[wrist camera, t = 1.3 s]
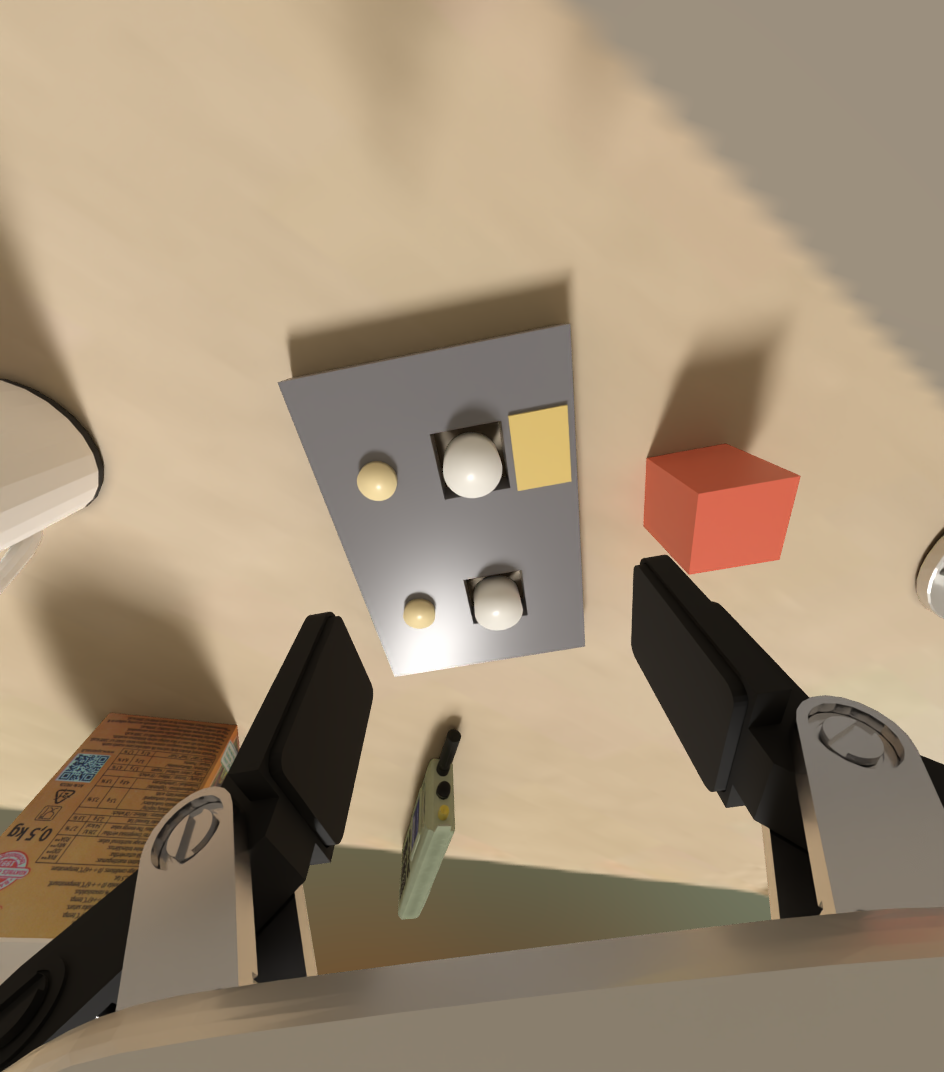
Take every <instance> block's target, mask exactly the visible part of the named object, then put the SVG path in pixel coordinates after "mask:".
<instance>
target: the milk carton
mask: <svg viewBox="0 0 944 1072" xmlns="http://www.w3.org/2000/svg"><path fill="white" fill-rule="evenodd" d="M239 750H240V749H239V739H238V729H237V725H229V724H219V723H209V722H199V721H188V720H178V719H168V718H157V717H147V716H137V715H127V714H116V713H109V714H108V716H107V717H106V718H105V719H104V720H103V721H102V722H101V723H100V725H99V726H98V727H97V728H96V729H95V730H94V731H93V732H92V734H91V735H90V736H89V737H88V738H87V739H86V740H85V741H84V743H83V744H82V745H81V746H80V747H79V748H78V749H77V750H76V752H75V753H74V754H73V755H72V756H71V757H70V758H69V760H68V761H67V762H66V763H65V764H64V765H63V766H62V767H61V769H60V770H59V771H58V772H57V773H56V774H55V775H54V776H53V778H52V779H51V780H50V781H49V782H48V783H47V784H46V785H45V787H44V788H43V789H42V790H41V791H40V792H39V793H38V794H37V796H36V797H35V798H34V799H33V800H32V801H31V802H30V803H29V805H28V806H27V807H26V808H25V809H24V810H23V811H22V813H21V814H20V815H19V816H18V817H17V818H16V819H15V821H14V822H13V823H12V824H11V825H10V826H9V827H8V828H7V829H6V831H5V832H4V833H3V834H2V835H1V836H0V985H1V984H2V983H3V982H4V981H5V980H6V979H7V978H9V977H10V976H11V975H12V974H13V973H14V972H15V971H16V970H17V969H18V968H19V967H20V966H21V965H23V964H24V963H25V962H26V961H27V960H29V959H30V958H31V957H32V956H33V955H35V954H36V953H37V952H38V951H40V950H41V949H42V948H43V947H44V946H46V945H47V944H48V943H49V942H50V941H52V940H53V939H54V938H55V937H56V936H58V935H59V934H60V933H61V932H63V931H64V930H65V929H66V928H67V927H69V926H70V925H71V924H72V923H73V922H75V921H76V920H77V919H78V918H79V917H81V916H82V915H83V914H84V913H85V912H87V911H88V910H89V909H90V908H92V907H93V906H94V905H95V904H96V903H98V902H99V901H100V900H101V899H102V898H104V897H105V896H106V895H107V894H108V893H110V892H111V891H112V890H113V889H115V888H116V887H117V886H118V885H119V884H121V883H122V882H123V881H124V880H125V879H127V878H128V877H129V876H130V875H131V874H133V873H134V872H135V871H136V870H138V869H139V863H140V858H141V855H142V852H143V848H144V845H145V843H146V842H147V840H148V838H149V836H150V834H151V833H152V831H153V829H154V828H155V827H156V826H157V824H158V823H159V822H160V821H161V819H162V818H163V817H164V816H165V815H166V814H167V813H168V812H169V811H170V810H171V809H172V808H173V807H174V806H175V805H176V804H178V803H179V802H180V801H182V800H183V799H185V798H186V797H188V796H189V795H191V794H193V793H195V792H197V791H199V790H201V789H204V788H209V787H214V786H216V787H221V785H222V783H223V781H224V779H225V777H226V775H227V773H228V771H229V769H230V767H231V766H232V764H233V762H234V760H235V758H236V756H237V754H238V752H239Z"/></svg>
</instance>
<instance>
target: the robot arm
mask: <svg viewBox="0 0 944 1072" xmlns="http://www.w3.org/2000/svg"><path fill="white" fill-rule="evenodd" d="M916 592H917V595H918V598H919V601H920V602H921V603H922V605H923V606H924V607H925V608H926V609H928V610H930V611H931V612H933V613H934V614H936V615H937V616H939V617H941V618H943V619H944V535H943V536H942V537H941V538H940V539H939V540H938V541H937V542H936V544H935V545H934V546H933V548H932V549H931V551H930V552H929V553H928V555H927V556H926V558H925V560H924V562H923V564H922V566H921V568H920V571H919V574H918V577H917V589H916ZM631 646H632V650H633V654H634V656H635V658H636V660H637V662H638V664H639V666H640V668H641V669H642V671H643V673H644V675H645V677H646V679H647V680H648V682H649V684H650V686H651V688H652V690H653V691H654V693H655V695H656V697H657V699H658V701H659V702H660V704H661V706H662V708H663V710H664V712H665V713H666V715H667V717H668V719H669V721H670V723H671V724H672V726H673V728H674V730H675V732H676V734H677V735H678V737H679V739H680V741H681V743H682V745H683V746H684V748H685V750H686V752H687V754H688V756H689V757H690V759H691V761H692V763H693V765H694V767H695V768H696V770H697V772H698V774H699V776H700V778H701V779H702V781H703V783H704V785H705V786H706V787H707V789H708V790H709V791H711V792H715V791H717V793H718V795H719V796H720V798H721V800H722V802H723V803H724V805H725V807H726V808H729V807H737V806H744V805H745V806H746V807H747V809H748V811H749V812H750V814H751V816H752V817H753V819H754V820H755V821H757V822H759V823H761V824H762V833H763V843H764V852H765V862H766V872H767V881H768V891H769V901H770V910H771V920H766V921H757V922H749V923H741V924H732V925H723V926H715V927H706V928H698V929H689V930H682V931H672V932H664V933H655V934H647V935H639V936H630V937H621V938H613V939H605V940H597V941H588V942H580V943H572V944H564V945H555V946H547V947H539V948H531V949H523V950H515V951H507V952H499V953H490V954H482V955H474V956H466V957H458V958H450V959H442V960H434V961H425V962H418V963H410V964H402V965H394V966H386V967H379V968H371V969H363V970H355V971H348V972H340V973H332V974H325V975H317V969H316V963H315V957H314V951H313V945H312V939H311V933H310V926H309V920H308V915H307V908H306V903H305V896H304V891H303V882H304V881H305V880H306V876H307V873H308V869H309V865H314V864H322V863H329V862H331V859H332V854H333V850H334V846H335V845H336V844H339V843H340V842H341V840H342V837H343V834H344V830H345V825H346V820H347V816H348V811H349V807H350V802H351V797H352V793H353V788H354V783H355V779H356V774H357V770H358V765H359V760H360V756H361V751H362V746H363V742H364V737H365V733H366V728H367V723H368V719H369V714H370V709H371V705H372V700H373V688H372V684H371V682H370V680H369V678H368V675H367V673H366V671H365V669H364V666H363V664H362V662H361V660H360V657H359V655H358V653H357V651H356V649H355V646H354V644H353V642H352V640H351V637H350V635H349V633H348V631H347V629H346V626H345V624H344V622H343V620H342V618H341V617H340V616H335V615H334V614H333V613H332V612H326V613H320V614H314V615H309V616H307V618H306V619H305V621H304V623H303V625H302V627H301V629H300V631H299V633H298V635H297V637H296V639H295V641H294V643H293V645H292V647H291V649H290V651H289V653H288V655H287V657H286V659H285V661H284V663H283V665H282V667H281V669H280V671H279V673H278V675H277V677H276V679H275V680H274V682H273V684H272V686H271V688H270V690H269V692H268V694H267V696H266V698H265V700H264V702H263V704H262V706H261V708H260V710H259V712H258V714H257V716H256V718H255V720H254V722H253V724H252V726H251V728H250V730H249V732H248V734H247V736H246V738H245V740H244V742H243V744H242V746H241V748H240V750H239V752H238V754H237V756H236V758H235V760H234V762H233V764H232V766H231V767H230V769H229V771H228V773H227V775H226V777H225V779H224V781H223V783H222V785H221V787H216V786H214V787H209V788H204V789H201V790H199V791H197V792H195V793H193V794H191V795H189V796H188V797H186V798H185V799H183V800H182V801H180V802H179V803H178V804H176V805H175V806H174V807H173V808H172V809H171V810H170V811H169V812H168V813H167V814H166V815H165V816H164V817H163V818H162V819H161V821H160V822H159V823H158V824H157V826H156V827H155V828H154V829H153V831H152V833H151V834H150V836H149V838H148V840H147V842H146V843H145V845H144V848H143V852H142V855H141V858H140V863H139V869H138V870H136V871H135V872H134V873H133V874H131V875H130V876H129V877H128V878H127V879H125V880H124V881H123V882H122V883H121V884H119V885H118V886H117V887H116V888H115V889H113V890H112V891H111V892H110V893H108V894H107V895H106V896H105V897H104V898H102V899H101V900H100V901H99V902H98V903H96V904H95V905H94V906H93V907H92V908H90V909H89V910H88V911H87V912H85V913H84V914H83V915H82V916H81V917H79V918H78V919H77V920H76V921H75V922H73V923H72V924H71V925H70V926H69V927H67V928H66V929H65V930H64V931H63V932H61V933H60V934H59V935H58V936H56V937H55V938H54V939H53V940H52V941H50V942H49V943H48V944H47V945H46V946H44V947H43V948H42V949H41V950H40V951H38V952H37V953H36V954H35V955H33V956H32V957H31V958H30V959H29V960H27V961H26V962H25V963H24V964H23V965H21V966H20V967H19V968H18V969H17V970H16V971H15V972H14V973H13V974H12V975H11V976H10V977H9V978H7V979H6V980H5V981H4V982H3V983H2V984H1V985H0V1072H944V764H941V763H939V762H936V761H933V760H931V759H928V758H926V757H923V756H921V755H920V754H919V752H918V750H917V748H916V747H915V745H914V744H913V742H912V741H911V739H910V738H909V736H908V735H907V734H906V733H905V732H904V731H903V730H902V729H901V728H900V727H899V726H898V725H897V724H895V723H894V722H893V721H891V720H890V719H888V718H887V717H885V716H884V715H882V714H881V713H879V712H878V711H876V710H874V709H872V708H870V707H867V706H865V705H863V704H861V703H859V702H855V701H852V700H849V699H845V698H842V697H834V696H826V695H825V696H816V697H811V698H809V697H808V696H807V695H806V694H805V693H804V692H803V691H802V689H801V688H800V687H799V686H798V685H797V684H796V683H795V682H794V681H793V680H792V679H791V678H790V677H789V676H788V675H787V674H786V673H785V672H784V671H783V670H782V669H781V667H780V666H779V665H778V664H777V663H776V662H775V661H774V660H773V659H772V658H771V657H770V656H769V655H768V654H767V653H766V652H765V651H764V650H763V649H762V648H761V647H760V645H759V644H758V643H757V642H756V641H755V640H754V639H753V638H752V637H751V636H750V635H749V634H748V633H747V632H746V631H745V630H744V629H743V628H742V627H741V626H740V625H739V623H738V622H737V621H736V620H735V619H734V618H733V617H732V616H731V615H730V614H729V613H728V612H727V611H726V610H725V609H724V608H723V607H722V606H721V605H720V604H718V603H716V602H711V601H710V600H709V599H708V598H707V597H706V595H705V594H704V593H703V592H702V591H701V590H700V589H699V588H698V587H697V586H696V585H695V584H694V583H693V581H692V580H691V579H690V578H689V577H688V576H687V575H686V574H685V573H684V572H683V571H682V570H681V569H680V568H679V566H678V565H677V564H676V563H675V562H674V561H673V560H672V559H671V558H670V557H669V556H668V555H660V556H654V557H648V558H643V559H641V562H640V565H636V566H635V567H634V573H633V604H632V635H631Z"/></svg>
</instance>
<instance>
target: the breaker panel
mask: <svg viewBox="0 0 944 1072" xmlns="http://www.w3.org/2000/svg"><path fill="white" fill-rule="evenodd" d="M278 385H279V387H280V390H281V392H282V395H283V397H284V400H285V402H286V405H287V407H288V410H289V412H290V415H291V417H292V420H293V422H294V425H295V427H296V430H297V433H298V435H299V438H300V440H301V443H302V445H303V448H304V450H305V453H306V455H307V458H308V460H309V463H310V465H311V468H312V470H313V473H314V475H315V478H316V480H317V483H318V485H319V488H320V490H321V493H322V495H323V498H324V500H325V503H326V505H327V508H328V510H329V513H330V515H331V518H332V520H333V523H334V526H335V528H336V531H337V533H338V536H339V538H340V541H341V543H342V546H343V548H344V551H345V553H346V556H347V558H348V561H349V563H350V566H351V568H352V571H353V573H354V576H355V578H356V581H357V583H358V586H359V588H360V591H361V593H362V596H363V598H364V601H365V603H366V606H367V608H368V611H369V613H370V616H371V619H372V621H373V624H374V626H375V629H376V631H377V634H378V636H379V639H380V641H381V644H382V646H383V649H384V651H385V654H386V656H387V659H388V661H389V664H390V666H391V669H392V671H393V674H394V676H395V677H396V676H402V675H408V674H415V673H421V672H427V671H434V670H440V669H446V668H452V667H459V666H465V665H471V664H478V663H484V662H490V661H496V660H503V659H509V658H515V657H521V656H528V655H534V654H540V653H547V652H553V651H559V650H565V649H572V648H578V647H584V646H585V634H584V613H583V591H582V569H581V547H580V525H579V504H578V482H577V460H576V438H575V416H574V395H573V373H572V351H571V329H570V324H557V325H552V326H547V327H542V328H537V329H532V330H527V331H522V332H517V333H512V334H507V335H502V336H498V337H493V338H488V339H483V340H478V341H473V342H468V343H463V344H458V345H453V346H448V347H443V348H438V349H433V350H428V351H423V352H418V353H413V354H408V355H403V356H398V357H393V358H388V359H383V360H378V361H373V362H368V363H363V364H358V365H353V366H348V367H343V368H338V369H333V370H328V371H323V372H318V373H313V374H308V375H303V376H298V377H293V378H290V379H287V380H284V381H281V382H278ZM497 421H499V427H500V435H501V442H502V449H503V456H504V463H505V470H506V477H501V479H500V481H499V483H498V485H497V486H496V487H495V489H494V490H493V491H491V492H490V493H489V494H487V495H485V496H482V497H479V498H466V497H462V496H460V495H458V494H456V493H455V492H453V491H452V490H451V489H450V488H449V487H446V488H445V484H444V479H443V475H442V470H441V466H440V462H439V457H438V453H437V448H436V444H435V439H434V435H433V434H434V433H439V432H444V431H450V430H455V429H460V428H465V427H471V426H476V425H481V424H486V423H492V422H497ZM519 570H520V576H521V584H522V591H523V598H521V604H522V608H523V613H522V616H521V618H520V620H519V621H518V622H517V623H516V624H515V625H514V626H512V627H510V628H508V629H505V630H490V629H487V628H485V627H483V626H481V625H480V624H479V623H478V621H477V620H476V617H475V609H474V606H473V607H472V603H471V599H470V594H469V590H468V585H467V581H466V579H472V578H478V577H484V576H490V575H496V574H501V573H507V572H513V571H519Z"/></svg>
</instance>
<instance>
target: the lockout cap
mask: <svg viewBox="0 0 944 1072" xmlns="http://www.w3.org/2000/svg"><path fill="white" fill-rule="evenodd" d="M799 480H800V476H799V475H797V474H795V473H793V472H790V471H788V470H786V469H783V468H781V467H779V466H776V465H774V464H772V463H770V462H767V461H765V460H763V459H760V458H758V457H756V456H754V455H751V454H749V453H747V452H744V451H742V450H740V449H737V448H735V447H733V446H731V445H728V444H721V445H715V446H710V447H704V448H699V449H693V450H688V451H682V452H677V453H671V454H666V455H660V456H655V457H649V458H647V460H646V482H645V503H644V525H643V526H644V527H645V528H646V529H647V531H648V532H649V533H650V534H651V535H652V536H653V537H654V538H655V539H656V540H657V541H658V542H659V543H660V544H661V545H662V547H663V548H664V549H665V550H666V551H667V552H668V553H669V554H670V555H671V556H672V557H673V558H674V559H675V560H676V561H677V562H678V564H679V565H680V566H681V567H682V568H683V569H684V570H685V571H686V572H687V573H688V574H695V573H701V572H707V571H713V570H719V569H726V568H732V567H738V566H744V565H750V564H756V563H762V562H768V561H774V560H779V559H780V555H781V551H782V547H783V543H784V539H785V535H786V532H787V528H788V524H789V520H790V516H791V512H792V508H793V504H794V500H795V496H796V492H797V488H798V484H799Z"/></svg>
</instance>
